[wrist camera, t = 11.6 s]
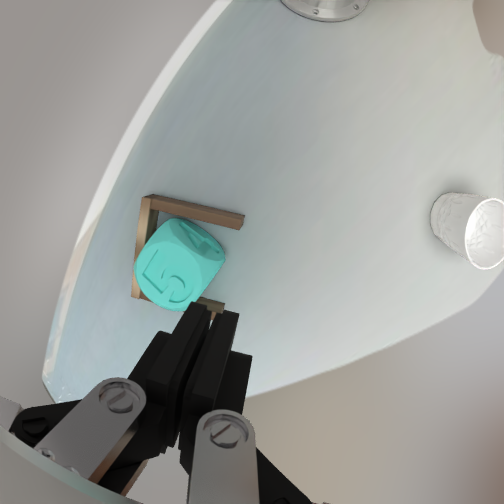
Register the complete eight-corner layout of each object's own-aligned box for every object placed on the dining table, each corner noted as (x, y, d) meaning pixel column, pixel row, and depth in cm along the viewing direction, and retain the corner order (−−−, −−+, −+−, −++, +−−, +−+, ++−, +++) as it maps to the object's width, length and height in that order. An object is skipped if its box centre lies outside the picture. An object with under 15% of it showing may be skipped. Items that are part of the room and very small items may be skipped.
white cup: (420, 241, 36) (457, 265, 26) (431, 182, 33) (473, 190, 24) (464, 249, 35) (504, 273, 26) (475, 194, 33) (519, 206, 23)
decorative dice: (181, 212, 38) (156, 224, 30) (231, 250, 39) (218, 271, 31) (150, 258, 40) (123, 280, 32) (197, 294, 41) (179, 323, 33)
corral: (152, 194, 37) (142, 197, 34) (244, 215, 37) (241, 220, 34) (141, 287, 41) (131, 296, 38) (222, 311, 41) (218, 322, 38)
